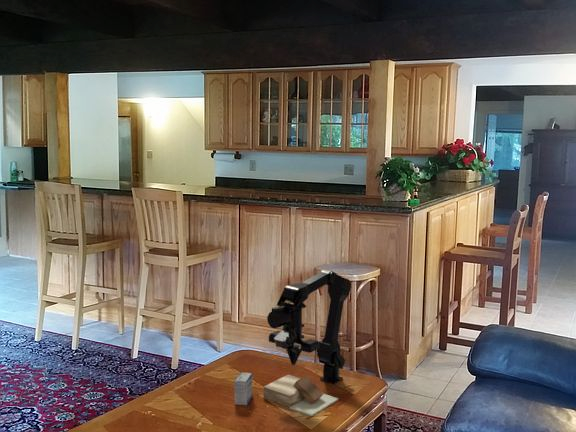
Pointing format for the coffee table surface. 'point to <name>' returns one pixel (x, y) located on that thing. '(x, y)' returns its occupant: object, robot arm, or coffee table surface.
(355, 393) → the coffee table surface
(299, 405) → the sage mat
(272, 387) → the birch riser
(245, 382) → the medicine box
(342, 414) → the coffee table surface
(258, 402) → the coffee table surface
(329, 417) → the coffee table surface
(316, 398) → the walnut tile
